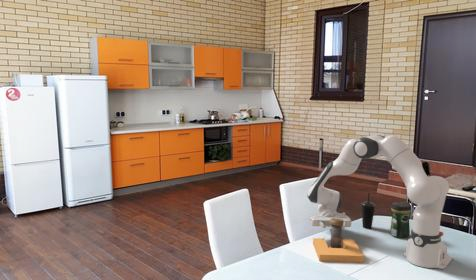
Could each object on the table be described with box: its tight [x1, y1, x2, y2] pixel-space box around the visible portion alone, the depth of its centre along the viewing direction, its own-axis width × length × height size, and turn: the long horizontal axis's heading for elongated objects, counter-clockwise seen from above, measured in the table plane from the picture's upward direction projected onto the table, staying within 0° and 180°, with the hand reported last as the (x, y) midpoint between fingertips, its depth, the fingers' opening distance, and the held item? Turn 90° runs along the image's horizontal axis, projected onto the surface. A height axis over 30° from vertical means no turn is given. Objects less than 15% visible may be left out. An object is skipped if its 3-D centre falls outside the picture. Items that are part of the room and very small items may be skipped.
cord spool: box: [328, 218, 344, 248], centre depth 189 cm, size 6×6×15 cm
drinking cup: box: [360, 192, 376, 230], centre depth 220 cm, size 8×8×20 cm
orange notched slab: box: [312, 237, 365, 263], centre depth 186 cm, size 20×20×3 cm
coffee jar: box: [389, 201, 412, 239], centre depth 208 cm, size 10×8×19 cm
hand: (333, 226), depth 194 cm, fingers open, 8 cm apart
